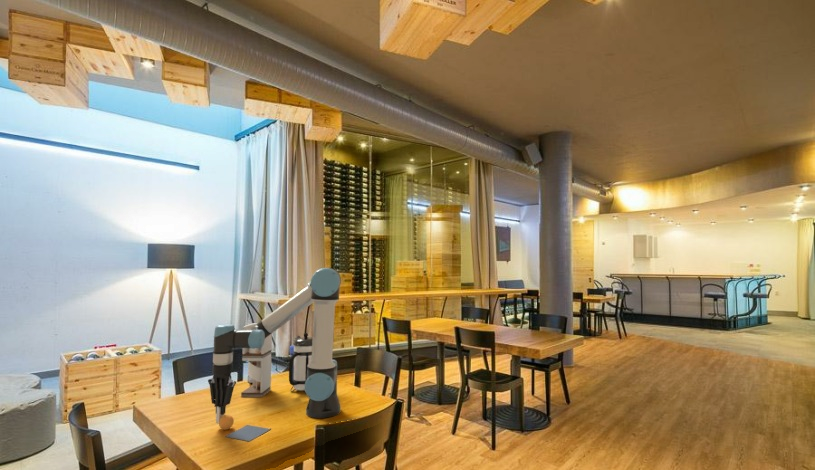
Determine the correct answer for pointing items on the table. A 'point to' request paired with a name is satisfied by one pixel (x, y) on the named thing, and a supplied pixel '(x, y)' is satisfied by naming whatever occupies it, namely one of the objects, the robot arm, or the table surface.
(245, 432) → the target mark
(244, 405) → the table surface
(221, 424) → the ball
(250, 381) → the charger
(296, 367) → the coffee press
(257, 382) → the wooden cubby shelf
